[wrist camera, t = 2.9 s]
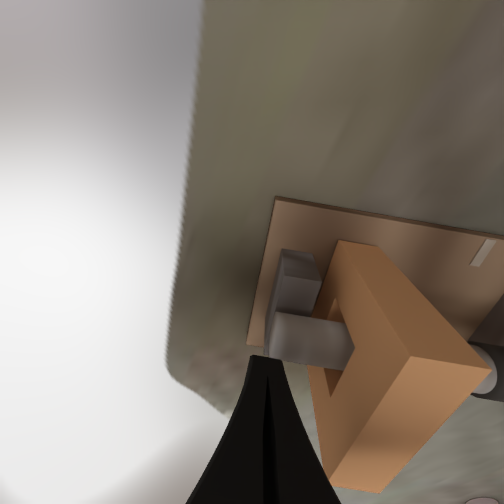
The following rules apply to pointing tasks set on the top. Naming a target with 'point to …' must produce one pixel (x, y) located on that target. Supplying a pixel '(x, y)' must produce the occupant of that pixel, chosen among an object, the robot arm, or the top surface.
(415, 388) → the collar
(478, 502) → the smoothie
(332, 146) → the top surface
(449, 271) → the pipe rig
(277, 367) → the robot arm
